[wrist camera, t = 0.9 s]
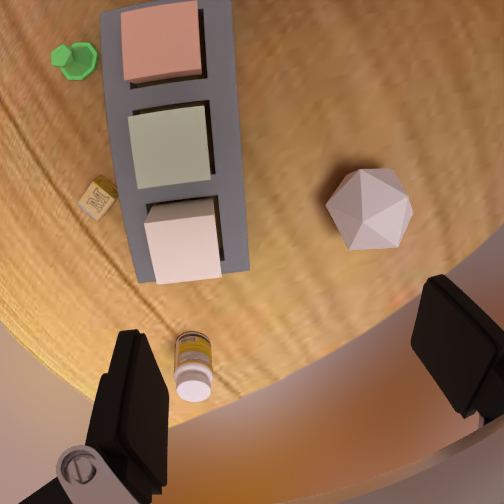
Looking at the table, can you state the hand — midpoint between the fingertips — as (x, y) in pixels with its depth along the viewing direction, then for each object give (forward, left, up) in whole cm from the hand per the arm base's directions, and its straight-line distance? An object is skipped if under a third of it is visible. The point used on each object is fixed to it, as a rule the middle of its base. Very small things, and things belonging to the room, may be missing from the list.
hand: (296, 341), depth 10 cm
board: (-4, -5, -25) cm, 26 cm away
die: (+4, +14, -25) cm, 29 cm away
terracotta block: (-13, -5, -23) cm, 27 cm away
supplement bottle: (+22, -7, -25) cm, 34 cm away
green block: (-4, -5, -23) cm, 24 cm away
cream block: (+5, -5, -23) cm, 24 cm away
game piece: (-14, -14, -25) cm, 32 cm away
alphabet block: (+1, -14, -26) cm, 29 cm away
